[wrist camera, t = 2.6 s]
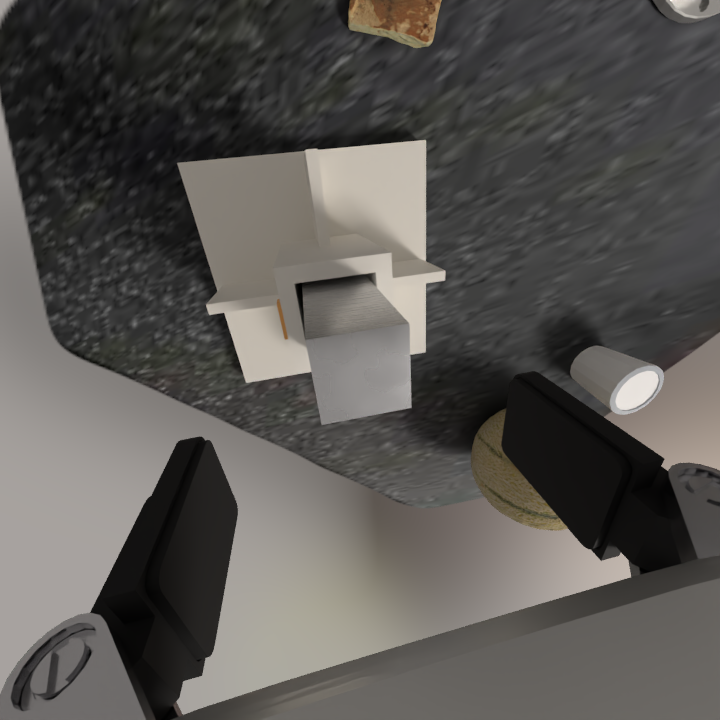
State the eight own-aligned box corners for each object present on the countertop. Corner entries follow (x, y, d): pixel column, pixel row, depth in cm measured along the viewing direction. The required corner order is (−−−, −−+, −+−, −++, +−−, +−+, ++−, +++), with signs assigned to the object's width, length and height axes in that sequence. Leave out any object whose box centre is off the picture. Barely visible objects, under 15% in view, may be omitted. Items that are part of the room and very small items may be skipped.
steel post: (299, 259, 27) (303, 339, 12) (346, 253, 28) (410, 322, 12) (308, 304, 29) (320, 425, 13) (351, 297, 30) (412, 408, 14)
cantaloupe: (432, 437, 44) (490, 538, 31) (513, 362, 40) (618, 441, 27) (490, 477, 50) (559, 576, 37) (565, 416, 47) (670, 500, 34)
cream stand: (183, 164, 25) (83, 133, 14) (419, 142, 28) (512, 99, 16) (248, 376, 35) (222, 466, 23) (421, 346, 37) (479, 415, 25)
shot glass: (556, 379, 43) (599, 408, 37) (587, 334, 41) (639, 358, 34) (590, 390, 45) (636, 420, 39) (622, 349, 43) (676, 374, 37)
